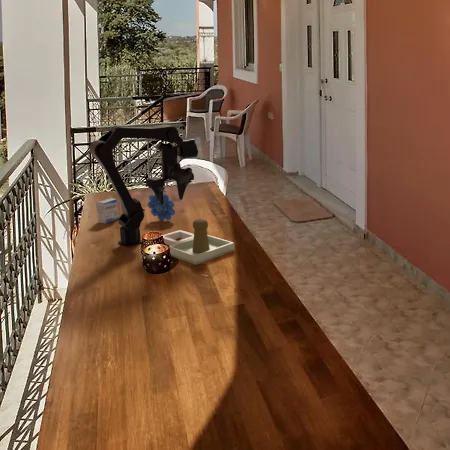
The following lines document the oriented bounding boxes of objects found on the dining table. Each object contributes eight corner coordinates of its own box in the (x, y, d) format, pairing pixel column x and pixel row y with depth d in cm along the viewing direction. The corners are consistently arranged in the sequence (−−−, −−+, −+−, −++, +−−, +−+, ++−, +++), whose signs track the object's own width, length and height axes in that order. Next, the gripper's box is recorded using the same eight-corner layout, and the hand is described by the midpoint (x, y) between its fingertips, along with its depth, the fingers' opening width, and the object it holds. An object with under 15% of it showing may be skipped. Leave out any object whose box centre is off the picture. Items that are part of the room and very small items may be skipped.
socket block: (177, 249, 201) (177, 242, 200) (158, 243, 208) (158, 236, 207) (199, 242, 208) (199, 235, 207) (180, 236, 215) (180, 229, 214)
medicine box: (105, 224, 232) (103, 203, 230) (97, 222, 234) (95, 201, 232) (119, 219, 238) (117, 198, 236) (111, 217, 241) (109, 197, 238)
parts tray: (195, 264, 186) (195, 256, 186) (168, 254, 196) (167, 246, 195) (234, 250, 199) (234, 242, 198) (206, 242, 208) (206, 234, 207)
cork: (201, 254, 193) (200, 223, 190) (188, 251, 197) (187, 220, 194) (213, 250, 197) (212, 219, 194) (200, 246, 201) (199, 216, 198)
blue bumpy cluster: (144, 222, 233) (142, 194, 229) (150, 218, 239) (149, 190, 235) (172, 224, 230) (170, 195, 226) (177, 219, 236) (176, 191, 233)
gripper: (163, 167, 196) (166, 211, 201) (203, 159, 209) (204, 200, 213) (143, 163, 204) (146, 205, 208) (183, 155, 216) (184, 195, 221)
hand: (171, 202), depth 212 cm, fingers open, 9 cm apart
